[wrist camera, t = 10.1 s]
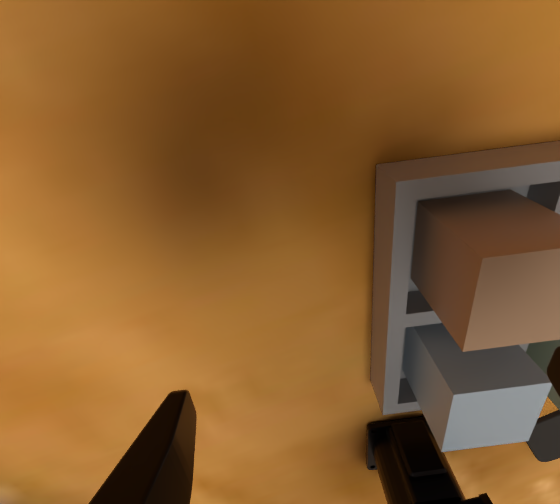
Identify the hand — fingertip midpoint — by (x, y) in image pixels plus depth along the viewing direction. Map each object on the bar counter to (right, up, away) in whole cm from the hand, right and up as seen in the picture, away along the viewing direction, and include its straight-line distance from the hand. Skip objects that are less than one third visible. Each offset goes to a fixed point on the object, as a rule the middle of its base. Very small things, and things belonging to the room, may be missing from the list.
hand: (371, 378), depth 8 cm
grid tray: (+12, +2, +14) cm, 19 cm away
